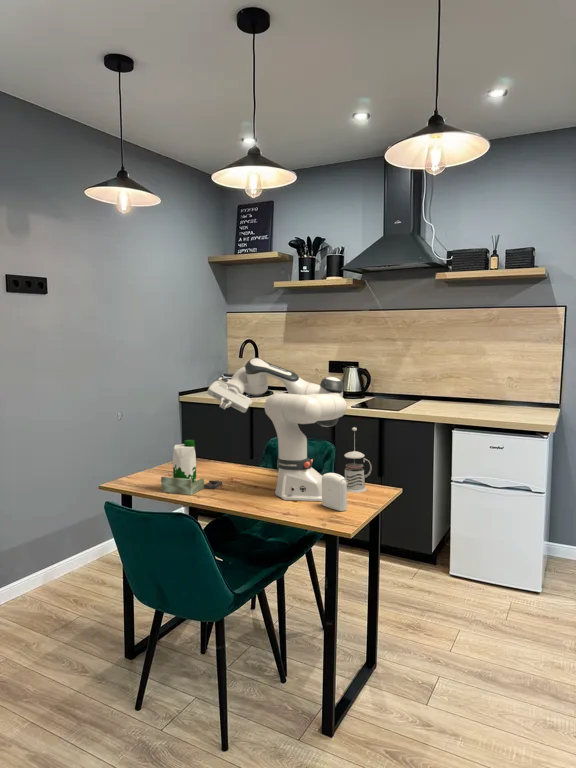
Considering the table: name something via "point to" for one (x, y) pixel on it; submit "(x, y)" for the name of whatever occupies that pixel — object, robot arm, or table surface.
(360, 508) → the table surface
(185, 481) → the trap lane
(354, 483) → the french press
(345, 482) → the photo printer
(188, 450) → the soya milk
